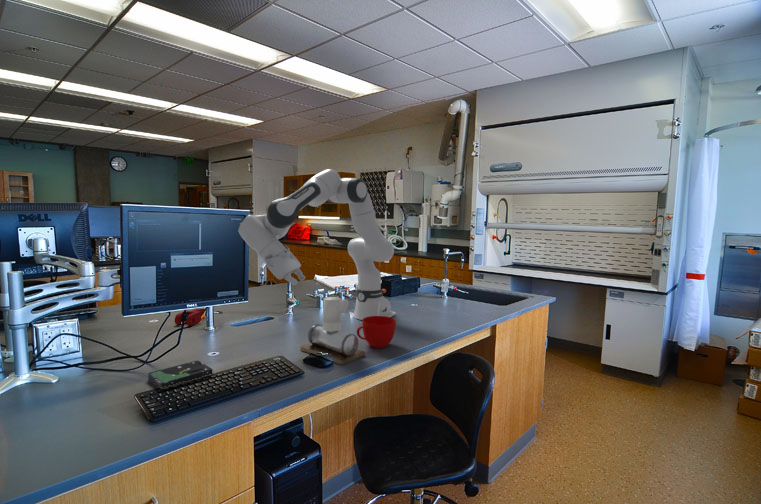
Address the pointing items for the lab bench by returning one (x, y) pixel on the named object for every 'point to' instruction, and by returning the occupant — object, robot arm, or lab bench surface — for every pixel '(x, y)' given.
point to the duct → (333, 344)
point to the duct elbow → (333, 313)
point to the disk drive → (179, 374)
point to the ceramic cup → (378, 330)
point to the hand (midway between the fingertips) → (300, 281)
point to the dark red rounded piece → (190, 317)
